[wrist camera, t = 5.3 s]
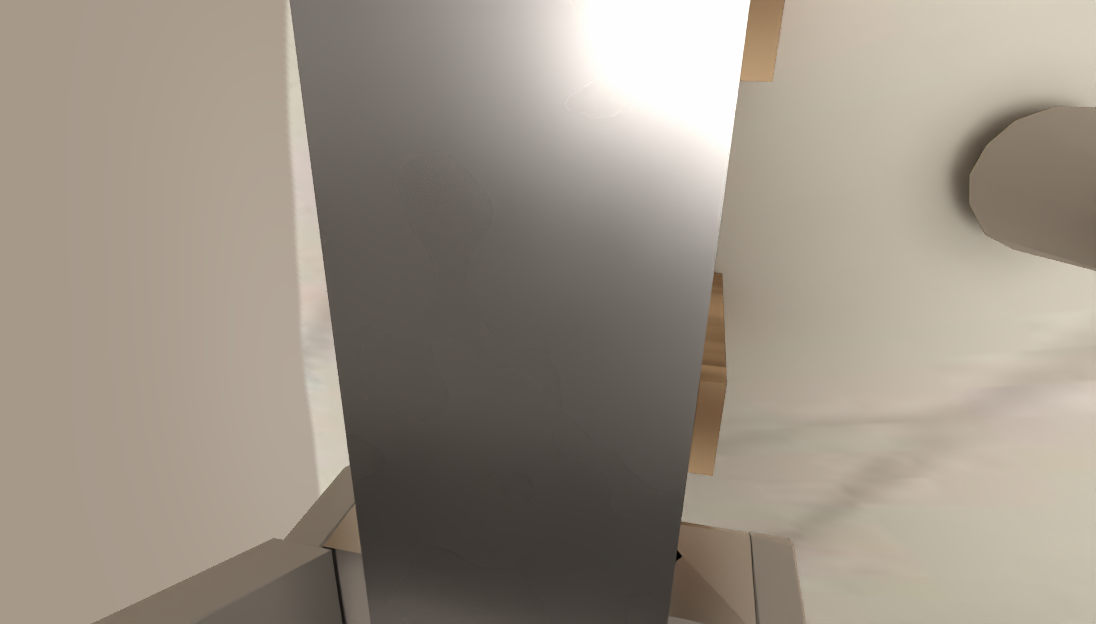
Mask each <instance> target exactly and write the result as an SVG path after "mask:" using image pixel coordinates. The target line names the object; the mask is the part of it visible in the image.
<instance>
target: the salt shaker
mask: <svg viewBox="0 0 1096 624" xmlns="http://www.w3.org/2000/svg"><path fill="white" fill-rule="evenodd" d="M969 205H970V207H971V209H972V211H973V212H974V214H975V216H976V218H977V220H978V222H979V224H980V225H981V227H982V229H983V231H984V233H985V234H986V235H987V236H989V237H991V238H993V239H995V240H997V241H999V242H1000V243H1002V244H1004V245H1006V246H1008V247H1010V248H1012V249H1014V250H1018V251H1022V252H1025V253H1029V254H1033V255H1037V256H1041V257H1045V258H1049V259H1052V260H1056V261H1060V262H1064V263H1068V264H1072V265H1076V266H1079V267H1083V268H1087V269H1091V270H1095V271H1096V108H1092V107H1061V106H1060V107H1052V108H1049V109H1046V110H1043V111H1040V112H1037V113H1034V114H1032V115H1029V116H1026V117H1023V118H1020V119H1017V120H1015V121H1014V122H1013V123H1012V124H1010V125H1009V126H1008V127H1007V128H1006V129H1004V130H1003V131H1002V132H1001V133H1000V134H999V135H997V136H996V137H995V138H994V139H993V140H991V141H990V142H989V143H988V144H987V145H986V147H985V148H984V150H983V152H982V154H981V155H980V157H979V159H978V161H977V162H976V164H975V166H974V168H973V169H972V171H971V173H970V175H969Z"/></svg>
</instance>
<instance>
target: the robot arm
mask: <svg viewBox="0 0 1096 624" xmlns="http://www.w3.org/2000/svg"><path fill="white" fill-rule="evenodd" d="M92 624H371V622H370V615H369V607H368V599H367V592H366V584H365V576H364V569H363V561H362V553H361V545H360V538H359V530H358V522H357V515H356V507H355V499H354V492H353V484H352V476H351V469H350V465H349V466H347V467H345V468H344V469H343V470H342V471H341V472H340V474H339V475H338V476H337V477H336V478H335V480H334V481H333V482H332V483H331V484H330V486H329V487H328V488H327V489H326V490H325V491H324V493H323V494H322V495H321V496H320V497H319V499H318V500H317V501H316V502H315V504H314V505H313V506H312V507H311V508H310V509H309V511H308V512H307V513H306V514H305V515H304V516H303V518H302V519H301V520H300V521H299V522H298V524H297V525H296V526H295V527H294V528H293V530H292V531H291V532H290V533H289V534H288V535H287V537H286V538H285V539H284V540H281V539H276V538H273V539H271V540H269V541H267V542H265V543H262V544H260V545H258V546H256V547H254V548H252V549H250V550H247V551H245V552H243V553H241V554H239V555H237V556H235V557H233V558H230V559H228V560H226V561H224V562H222V563H220V564H218V565H216V566H213V567H211V568H209V569H207V570H205V571H203V572H201V573H199V574H197V575H195V576H192V577H190V578H188V579H186V580H184V581H182V582H179V583H177V584H175V585H173V586H171V587H169V588H167V589H164V590H162V591H160V592H158V593H156V594H154V595H152V596H150V597H148V598H145V599H143V600H141V601H139V602H137V603H135V604H133V605H130V606H128V607H126V608H124V609H122V610H120V611H118V612H116V613H114V614H111V615H109V616H107V617H105V618H103V619H101V620H99V621H96V622H94V623H92ZM667 624H806V620H805V614H804V608H803V601H802V595H801V589H800V583H799V576H798V570H797V564H796V557H795V551H794V545H793V543H792V542H791V540H790V539H789V538H784V537H778V536H771V535H765V534H758V533H752V532H749V534H748V533H747V532H741V531H735V530H729V529H723V528H717V527H711V526H705V525H699V524H692V523H686V522H681V525H680V532H679V540H678V547H677V555H676V562H675V570H674V578H673V585H672V593H671V600H670V608H669V615H668V623H667Z"/></svg>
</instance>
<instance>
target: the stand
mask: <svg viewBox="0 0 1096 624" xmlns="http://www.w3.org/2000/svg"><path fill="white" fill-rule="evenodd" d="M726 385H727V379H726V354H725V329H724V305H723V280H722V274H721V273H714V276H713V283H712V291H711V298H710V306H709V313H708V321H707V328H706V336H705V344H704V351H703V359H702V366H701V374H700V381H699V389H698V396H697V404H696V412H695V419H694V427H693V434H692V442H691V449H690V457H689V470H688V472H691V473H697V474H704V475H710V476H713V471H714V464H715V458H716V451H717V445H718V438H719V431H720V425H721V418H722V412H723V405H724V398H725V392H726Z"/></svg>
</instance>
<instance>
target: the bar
mask: <svg viewBox="0 0 1096 624" xmlns="http://www.w3.org/2000/svg"><path fill="white" fill-rule="evenodd" d="M749 4H750V0H290V7H291V15H292V22H293V30H294V38H295V46H296V53H297V61H298V69H299V76H300V84H301V92H302V99H303V107H304V115H305V122H306V130H307V138H308V146H309V153H310V161H311V169H312V176H313V184H314V192H315V199H316V207H317V215H318V222H319V230H320V238H321V246H322V253H323V261H324V269H325V276H326V284H327V292H328V299H329V307H330V315H331V322H332V330H333V338H334V346H335V353H336V361H337V369H338V376H339V384H340V392H341V399H342V407H343V415H344V422H345V430H346V438H347V445H348V453H349V461H350V469H351V476H352V484H353V492H354V499H355V507H356V515H357V522H358V530H359V538H360V545H361V553H362V561H363V569H364V576H365V584H366V592H367V599H368V607H369V615H370V622H371V624H667V623H668V615H669V608H670V600H671V593H672V585H673V578H674V570H675V562H676V555H677V547H678V540H679V532H680V525H681V517H682V510H683V502H684V495H685V487H686V479H687V472H688V464H689V457H690V449H691V442H692V434H693V427H694V419H695V412H696V404H697V396H698V389H699V381H700V374H701V366H702V359H703V351H704V344H705V336H706V328H707V321H708V313H709V306H710V298H711V291H712V283H713V276H714V268H715V261H716V253H717V245H718V238H719V230H720V223H721V215H722V208H723V200H724V193H725V185H726V177H727V170H728V162H729V155H730V147H731V140H732V132H733V125H734V117H735V110H736V102H737V94H738V87H739V79H740V72H741V64H742V57H743V49H744V42H745V34H746V26H747V19H748V11H749Z"/></svg>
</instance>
